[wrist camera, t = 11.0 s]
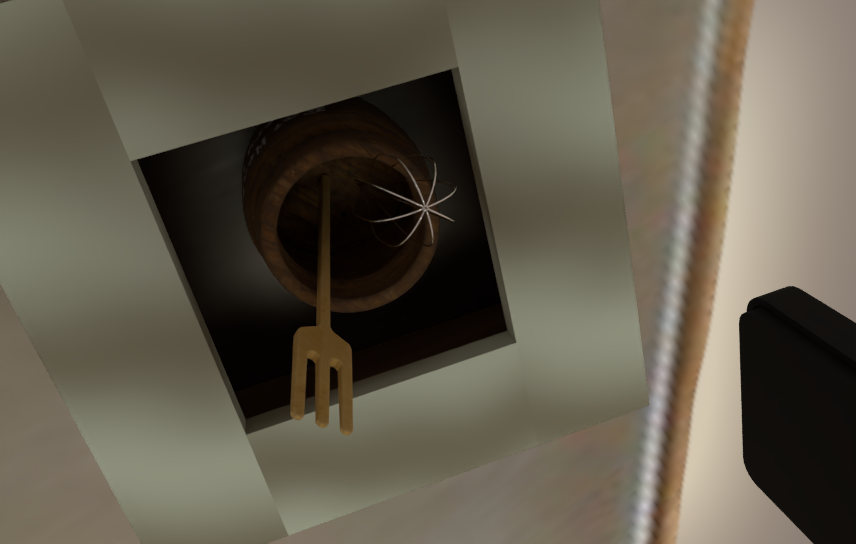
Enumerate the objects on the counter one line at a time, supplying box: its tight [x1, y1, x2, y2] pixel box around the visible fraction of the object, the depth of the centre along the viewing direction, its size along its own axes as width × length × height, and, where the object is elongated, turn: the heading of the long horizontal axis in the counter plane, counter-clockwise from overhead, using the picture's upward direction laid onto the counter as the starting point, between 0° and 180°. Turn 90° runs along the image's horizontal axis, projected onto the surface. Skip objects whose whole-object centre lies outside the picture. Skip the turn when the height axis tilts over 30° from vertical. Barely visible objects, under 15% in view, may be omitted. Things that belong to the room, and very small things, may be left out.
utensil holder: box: [242, 97, 457, 436], centre depth 21 cm, size 6×6×12 cm
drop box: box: [0, 0, 649, 544], centre depth 23 cm, size 16×16×8 cm
